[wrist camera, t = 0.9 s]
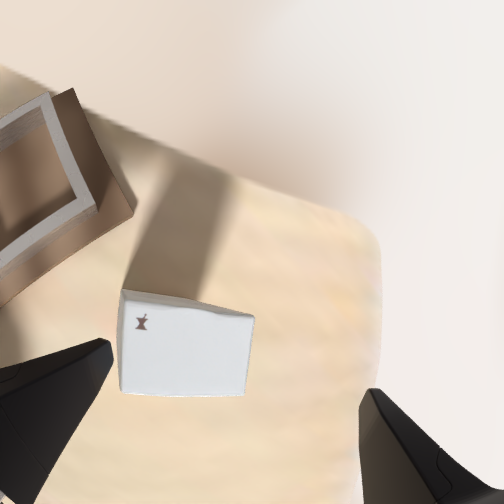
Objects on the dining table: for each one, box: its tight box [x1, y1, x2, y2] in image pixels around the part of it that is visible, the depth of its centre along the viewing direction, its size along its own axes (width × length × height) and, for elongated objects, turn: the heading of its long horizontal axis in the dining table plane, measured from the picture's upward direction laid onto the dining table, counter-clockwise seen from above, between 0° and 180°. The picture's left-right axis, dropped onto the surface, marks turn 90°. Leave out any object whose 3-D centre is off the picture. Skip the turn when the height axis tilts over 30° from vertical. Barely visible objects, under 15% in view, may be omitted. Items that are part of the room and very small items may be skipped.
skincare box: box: [116, 289, 255, 397], centre depth 17 cm, size 6×4×12 cm
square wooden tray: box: [0, 88, 134, 308], centre depth 17 cm, size 16×14×1 cm
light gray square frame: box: [0, 91, 98, 281], centre depth 15 cm, size 11×11×3 cm
